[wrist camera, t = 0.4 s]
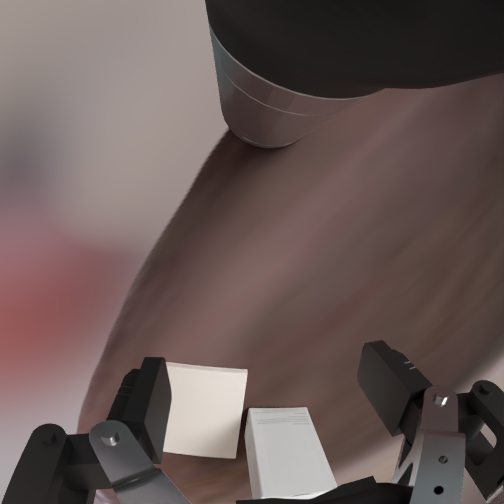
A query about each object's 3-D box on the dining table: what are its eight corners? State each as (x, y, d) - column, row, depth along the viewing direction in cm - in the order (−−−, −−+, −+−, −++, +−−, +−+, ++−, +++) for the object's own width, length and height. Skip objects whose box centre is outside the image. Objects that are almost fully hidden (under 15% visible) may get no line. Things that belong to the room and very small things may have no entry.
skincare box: (244, 432, 35) (250, 519, 20) (248, 404, 33) (257, 500, 19) (301, 432, 36) (323, 513, 21) (310, 404, 34) (340, 492, 20)
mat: (146, 358, 31) (145, 362, 30) (246, 369, 32) (247, 373, 31) (158, 446, 35) (157, 450, 34) (235, 454, 36) (235, 458, 35)
